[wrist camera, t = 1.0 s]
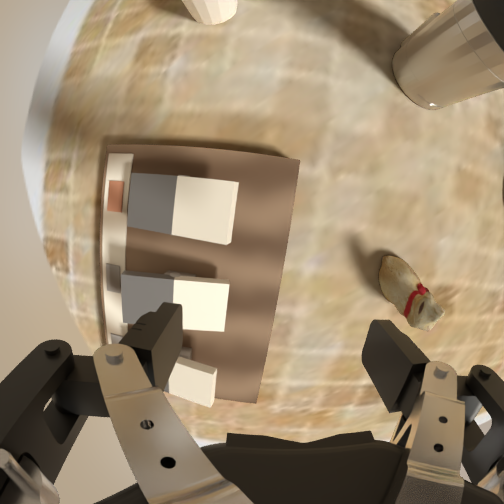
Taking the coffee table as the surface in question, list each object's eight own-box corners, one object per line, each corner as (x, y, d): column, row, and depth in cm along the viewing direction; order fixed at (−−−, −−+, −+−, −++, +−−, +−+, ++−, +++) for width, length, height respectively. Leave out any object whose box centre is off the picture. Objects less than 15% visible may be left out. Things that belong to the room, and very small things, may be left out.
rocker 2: (137, 337, 28) (129, 343, 27) (218, 364, 26) (213, 373, 25) (140, 371, 29) (133, 378, 28) (215, 398, 27) (210, 408, 26)
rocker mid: (125, 267, 24) (120, 273, 23) (227, 276, 26) (229, 283, 25) (126, 315, 25) (122, 323, 24) (222, 324, 27) (223, 332, 26)
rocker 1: (142, 172, 24) (131, 171, 22) (240, 181, 22) (234, 180, 20) (137, 225, 25) (127, 227, 24) (232, 242, 23) (226, 246, 22)
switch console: (120, 147, 27) (99, 142, 23) (295, 163, 27) (302, 158, 23) (119, 361, 34) (106, 379, 29) (256, 388, 34) (255, 411, 30)
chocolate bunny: (376, 315, 31) (412, 359, 21) (377, 255, 29) (421, 284, 20) (412, 307, 31) (453, 344, 21) (415, 249, 29) (465, 273, 19)
